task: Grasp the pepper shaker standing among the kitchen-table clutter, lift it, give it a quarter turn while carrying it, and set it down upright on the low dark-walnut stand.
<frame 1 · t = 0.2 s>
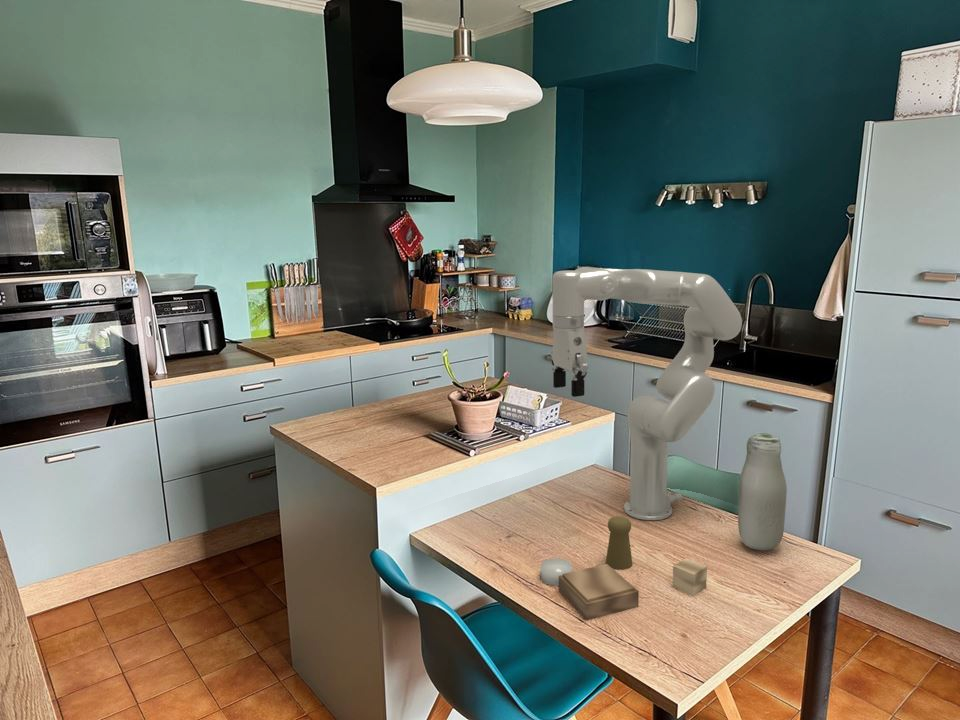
hand: (568, 391, 168), 36 cm above the table, tool pointing down, fingers open, 9 cm apart
glass bottle: (759, 547, 163), on the table
pepper shaker: (619, 563, 158), on the table
pale grey dome: (556, 578, 152), on the table
walnut stand: (597, 598, 144), on the table
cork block: (689, 587, 147), on the table
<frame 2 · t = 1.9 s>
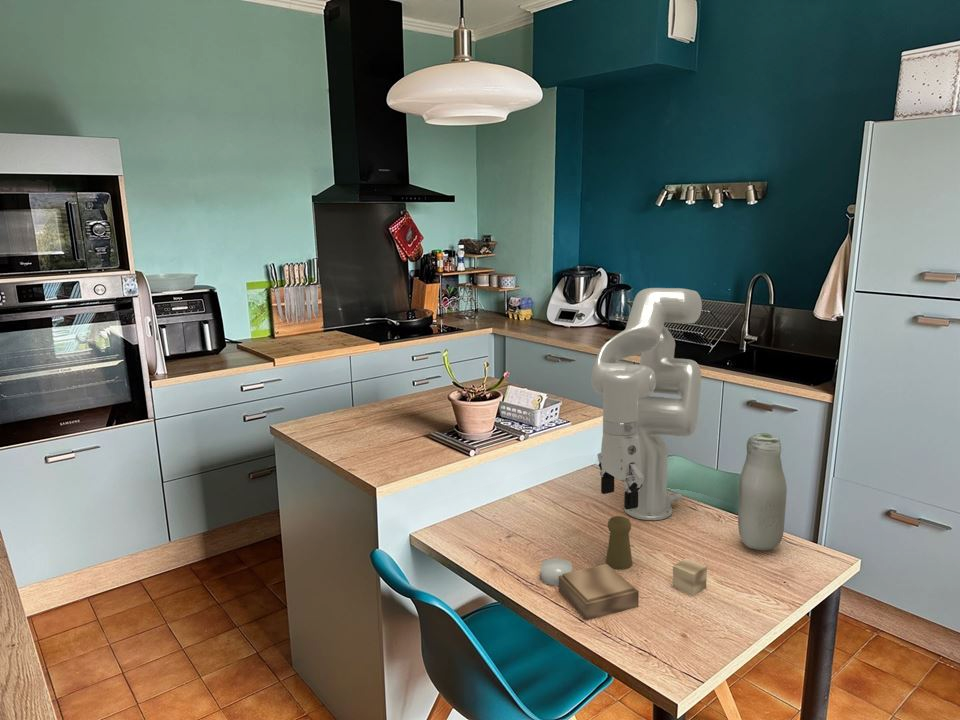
hand: (619, 500, 154), 16 cm above the table, tool pointing down, fingers open, 9 cm apart
nothing on the table moved.
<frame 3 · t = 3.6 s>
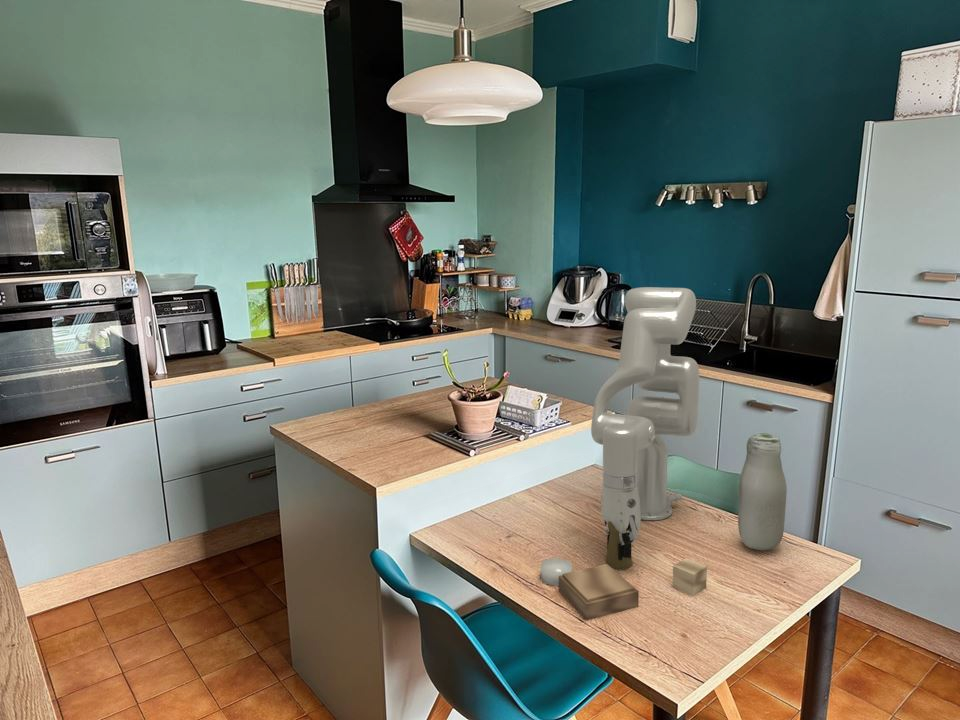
hand: (619, 553, 157), 2 cm above the table, tool pointing down, fingers closed on pepper shaker, 3 cm apart
pepper shaker: (619, 563, 158), on the table, touching gripper
everything else where it was.
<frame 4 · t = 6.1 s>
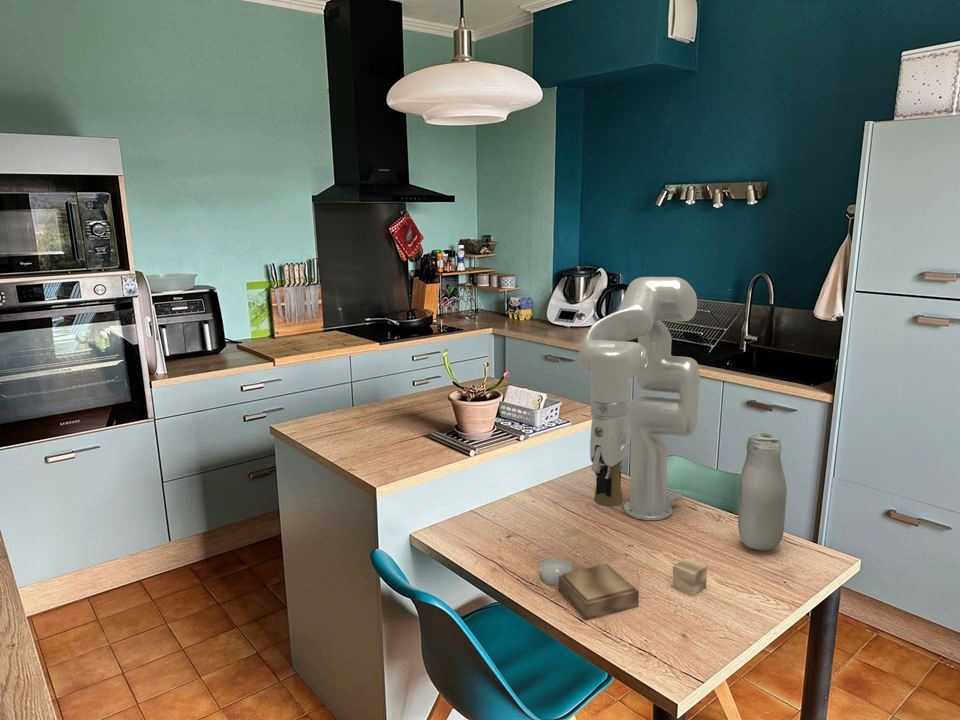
hand: (608, 490, 145), 21 cm above the table, tool pointing down, fingers closed on pepper shaker, 3 cm apart
pepper shaker: (608, 501, 145), point 19 cm above the table, touching gripper
everything else where it was.
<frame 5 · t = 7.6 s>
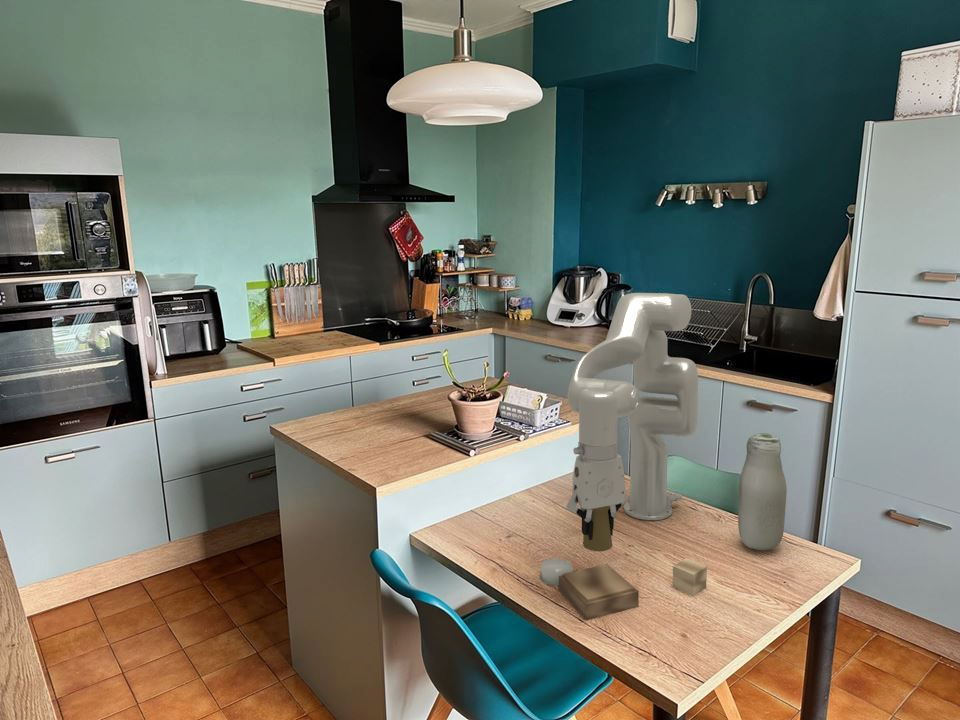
hand: (597, 534, 140), 15 cm above the table, tool pointing down, fingers closed on pepper shaker, 3 cm apart
pepper shaker: (597, 545, 141), point 12 cm above the table, touching gripper
everything else where it was.
when the fingers open (8 cm above the table, at t = 8.8 s): pepper shaker drops 2 cm, resting on walnut stand.
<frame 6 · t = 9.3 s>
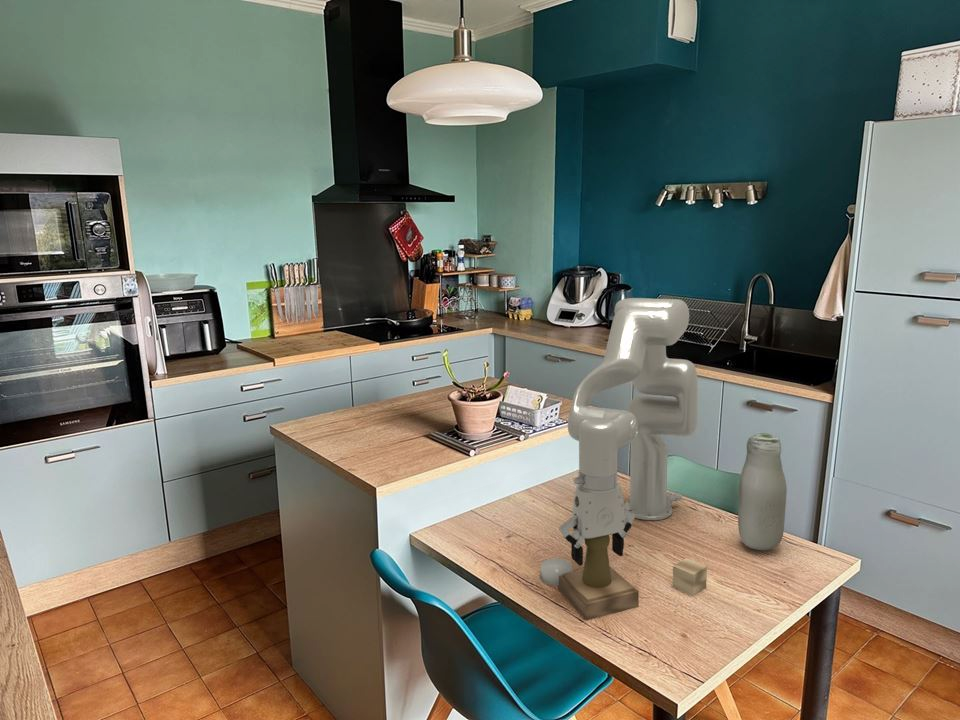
hand: (597, 557, 142), 9 cm above the table, tool pointing down, fingers open, 9 cm apart
pepper shaker: (596, 581, 143), point 4 cm above the table, touching walnut stand
everything else where it was.
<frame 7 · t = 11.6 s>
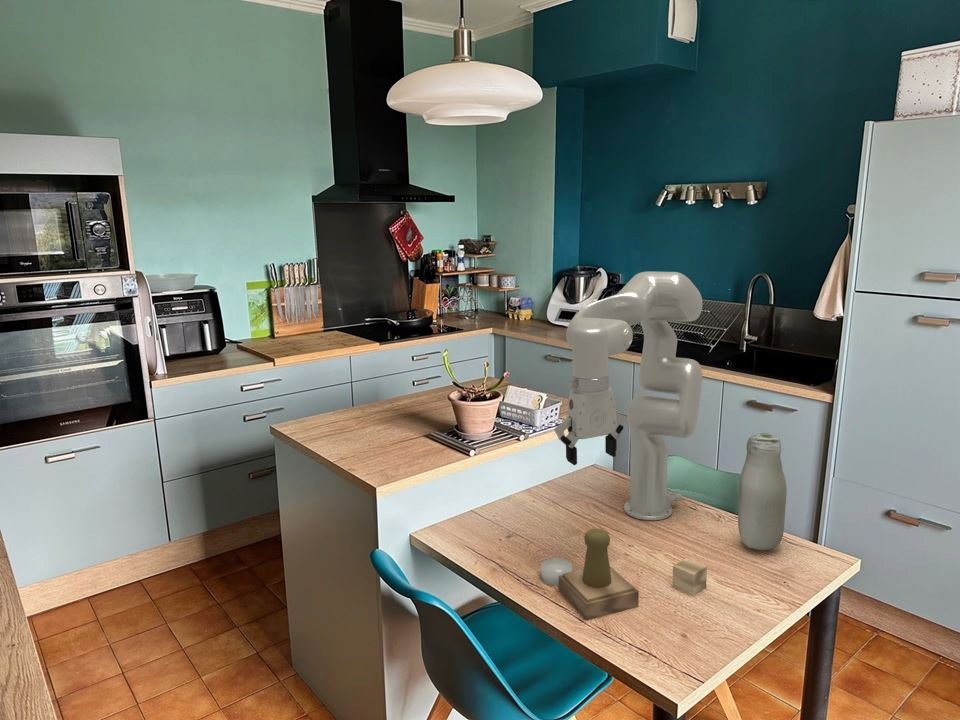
hand: (591, 458, 150), 26 cm above the table, tool pointing down, fingers open, 9 cm apart
nothing on the table moved.
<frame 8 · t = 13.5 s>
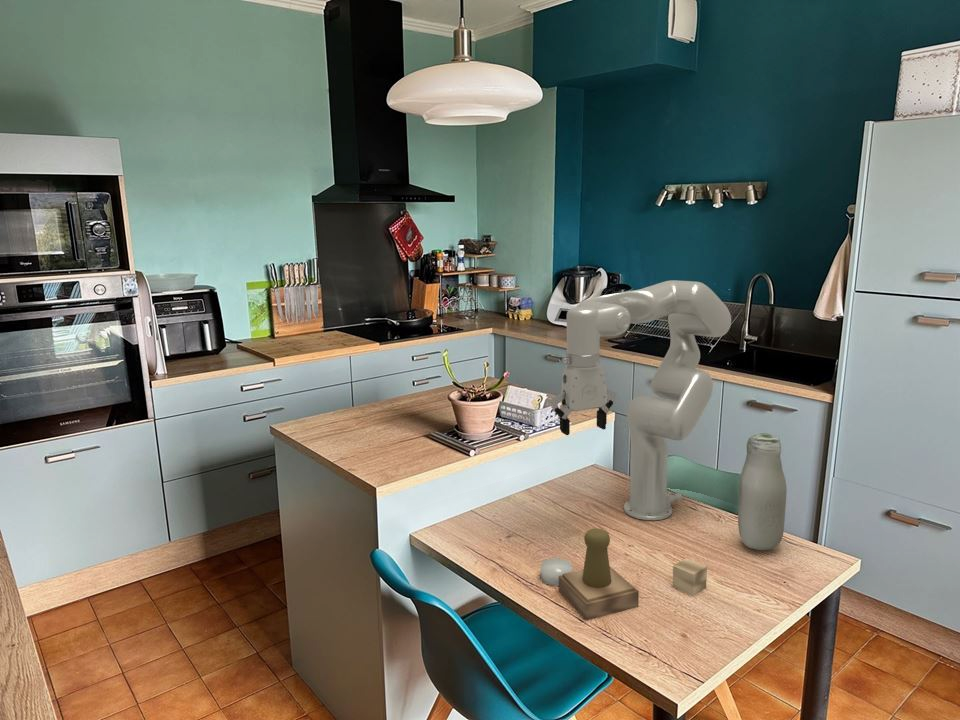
hand: (583, 430, 163), 28 cm above the table, tool pointing down, fingers open, 9 cm apart
nothing on the table moved.
at the end: pepper shaker inside the target area on the walnut stand (0.3 cm from its centre), point 3.8 cm above the walnut stand's base; pepper shaker tilted 0°; the gripper is holding nothing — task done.
